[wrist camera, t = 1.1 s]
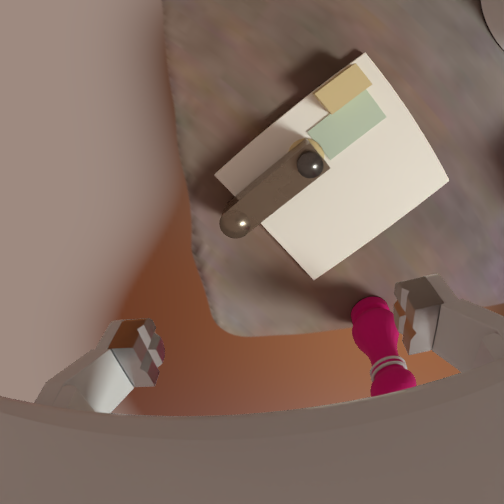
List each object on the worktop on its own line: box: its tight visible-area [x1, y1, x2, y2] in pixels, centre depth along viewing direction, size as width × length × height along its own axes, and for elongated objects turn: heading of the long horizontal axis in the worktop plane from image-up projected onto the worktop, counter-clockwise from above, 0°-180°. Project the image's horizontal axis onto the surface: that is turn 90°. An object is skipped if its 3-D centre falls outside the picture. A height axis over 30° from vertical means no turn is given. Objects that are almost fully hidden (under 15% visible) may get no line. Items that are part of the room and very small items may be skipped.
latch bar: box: [220, 138, 330, 238], centre depth 37 cm, size 14×4×5 cm, turn 132°
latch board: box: [215, 53, 449, 280], centre depth 37 cm, size 24×20×4 cm
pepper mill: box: [351, 297, 416, 397], centre depth 40 cm, size 7×7×20 cm
